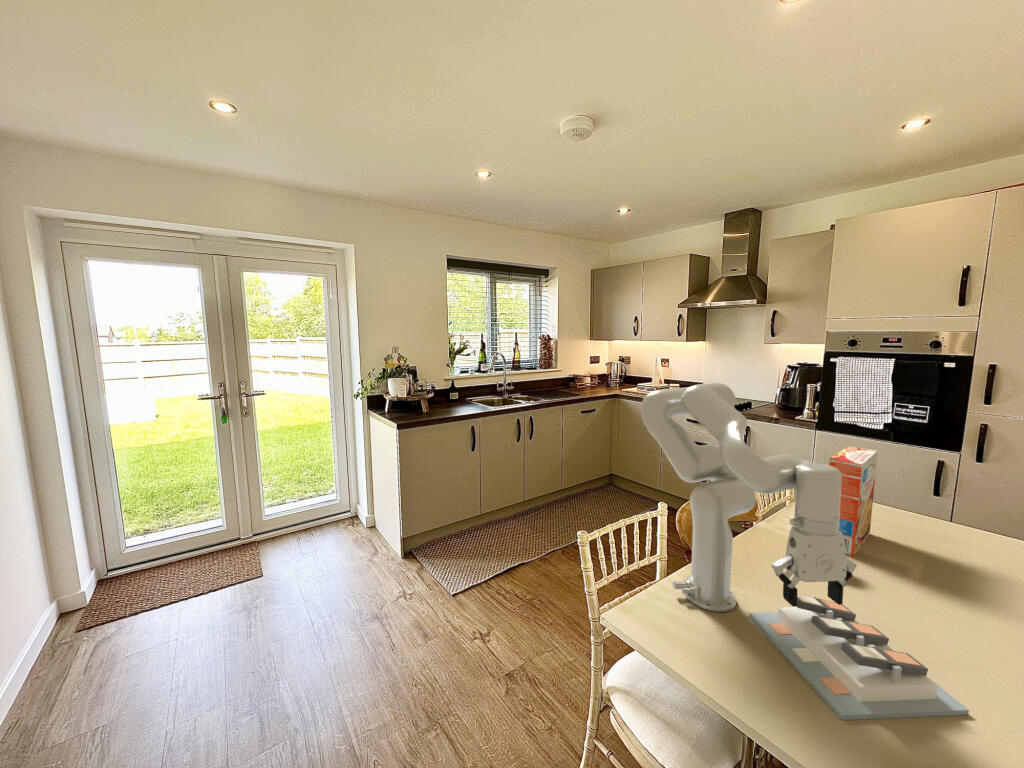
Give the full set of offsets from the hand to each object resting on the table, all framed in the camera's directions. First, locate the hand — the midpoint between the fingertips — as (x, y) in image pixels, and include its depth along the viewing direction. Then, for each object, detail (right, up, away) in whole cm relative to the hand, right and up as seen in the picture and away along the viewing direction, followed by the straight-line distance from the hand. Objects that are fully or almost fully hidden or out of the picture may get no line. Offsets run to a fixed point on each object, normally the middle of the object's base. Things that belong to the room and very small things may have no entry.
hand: (812, 601), depth 87 cm
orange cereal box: (+51, -7, +54) cm, 74 cm away
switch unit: (+9, -14, +3) cm, 17 cm away
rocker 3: (+9, -8, -6) cm, 14 cm away
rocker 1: (+9, -6, +10) cm, 15 cm away
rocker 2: (+9, -7, +2) cm, 12 cm away
